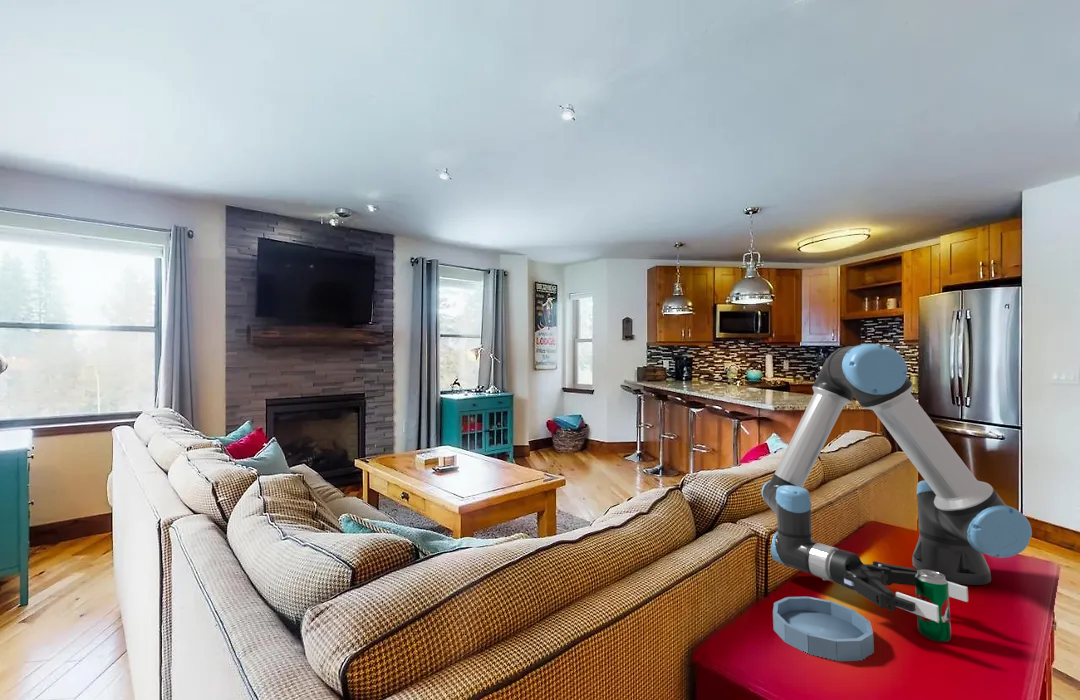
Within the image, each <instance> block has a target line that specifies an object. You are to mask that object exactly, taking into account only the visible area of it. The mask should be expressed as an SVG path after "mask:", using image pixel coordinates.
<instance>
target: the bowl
mask: <svg viewBox="0 0 1080 700" xmlns="http://www.w3.org/2000/svg"><path fill="white" fill-rule="evenodd" d="M772 624H773V631H774V632H775V633H776V634H777V636H779V638H781V640H782V641H783V643H786V644H787V645H788V646H791V647H793V648H795V649H797V650H799V651H801V652H803V651H804V652H803V653H805V652H806V653H805V654H807V653H808V654H807V655H809V654H810V655H809V656H813V655H814V656H813V657H817V656H819V657H818V658H821V657H823V659H825V658H827V659H826V660H830V659H831V660H830V661H834V660H835V661H834V662H860V661H864V660H865V659H866V657H867V656H868V657H870V656H871V655H873V654H874V653H875V644H874V642H875V641H874V632H873V631H874V630H873V628H872V624H871V621H870V620H869V619H867V618H866V617H864V615H862V614H860V613H859V612H857V611H856V610H855V609H853V608H850V607H848V606H845V605H842V604H839V603H837V602H835V601H832V600H828V599H823V598H818V597H817V598H816V597H812V596H787V597H784V598H782V599H779V600H777V601H775V602H773V609H772ZM872 653H873V654H872ZM869 655H870V656H869ZM868 657H867V658H868ZM863 659H864V660H863ZM859 660H860V661H859Z"/></svg>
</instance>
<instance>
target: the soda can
mask: <svg viewBox="0 0 1080 700" xmlns="http://www.w3.org/2000/svg"><path fill="white" fill-rule="evenodd" d="M948 582H949V581H948ZM948 582H947V580H946V579H945V576H944V575H943V574H941V573H939V572H936V571H931V570H918V571H917V574H916V575H915V586H914V587H915V598H917V599H920V600H923V601H926V602H929V603H932V604H935V605H938V608H939V621H938V622H936V621H933V620H931V619H928V618H925V617H922V616H920V615H917V614H916V617H917V619H916V621H917V623H916V624H917V630H918V632H919V633H920V635H922V636H923V635H924V636H925V637H924V636H923V637H924V638H926V637H927V638H926V639H928V638H929V639H928V640H931V641H934V642H939V643H946V642H949V641H950V640H951V639H952V626H951V611H950V610H951V609H950V597H949V588H948Z"/></svg>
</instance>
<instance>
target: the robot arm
mask: <svg viewBox="0 0 1080 700" xmlns="http://www.w3.org/2000/svg"><path fill="white" fill-rule="evenodd" d="M907 372H908V366H907V363H906V360H905V358H903V356H902V355H901V354H900V353H899V352H897V351H896V350H895V349H893V348H891V347H889V346H885V345H882V344H877V343H862V344H859V345H849V346H844V347H840V348H838V349H836V350H834V351H833V352H832V353H831V354H829V356H828V357H827V358H826V359H825V361H824V363H823V365H822V367H821V369H820V370H819V373H818V375H817V377H816V379H815V380H814V383H813V385H812V387H811V388H812V390H813V395H812V397H811V398H810V400H809V402H808V405H807V407H806V409H805V411H804V413H803V415H802V417H801V419H800V421H799V423H798V425H797V427H796V429H795V431H794V433H793V435H792V438H791V440H790V442H789V443H788V446H787V447H786V449H785V452H784V454H783V456H782V458H781V459H780V461H779V463H778V466H777V467H776V469H775V472H774V474H773V476H772V478H771V479H770V480H768V481H766V482H765V483H764V484H763V486H762V488H761V496H762V499H763V500H764V503H765V505H767V507H769V508H770V509H771V510H772V512H774V514H775V515H776V519H777V523H776V524H777V530H776V531H777V532H776V533H775V534H774V536H773V539H772V544H771V555H772V558H773V559H772V558H771V559H772V560H773V561H774V562H778V563H780V564H782V565H785V566H786V567H789V568H792V569H795V570H798V571H801V572H804V573H807V574H810V575H811V576H815V577H818V578H821V579H822V581H829V582H833V583H835V584H837V585H839V586H843V587H845V588H847V589H850V590H852V591H854V592H855V593H857V594H859V595H860V596H862V597H863V598H865V599H866V600H868V601H869V602H871V603H873V604H875V605H876V606H878V607H879V608H882V609H886V608H887V610H888V611H891V612H895V611H896V608H899V609H901V610H903V611H907V612H909V613H911V614H915V615H916V616H917V615H920V616H922V617H925V618H928V619H931V620H933V621H936V622H938V621H939V608H938V605H935V604H932V603H929V602H926V601H923V600H920V599H917V598H916V597H914V596H910V595H907V594H904V593H902V592H899V591H896V592H895V593H894V592H893V591H892V590H890V589H889V588H888V587H886V586H892V584H894V585H895V584H896V585H905V586H914V587H916V586H915V575H916V574H917V571H918V570H931V571H936V572H939V573H941V574H943V575H944V576H945V579H946V580H947V582H948V588H949V598H953V599H956V600H959V601H962V602H966V603H968V602H969V589H968V586H965V585H971V586H983V585H988V584H989V583H991V581H992V576H991V569H990V567H989V564H988V563H987V561H986V560H987V559H986V558H985V555H987V556H989V557H993V558H1002V559H1003V558H1005V559H1006V558H1011V557H1014V556H1017V555H1019V554H1020V553H1022V552H1023V551H1025V549H1026V548H1027V547H1028V546H1029V544H1030V540H1031V538H1032V534H1033V531H1032V526H1031V523H1030V521H1029V519H1028V518H1027V517H1026V516H1025V514H1023V513H1022V512H1021V511H1020V510H1018V509H1016V508H1015V507H1013V506H1009V505H1007V504H1006V503H1005V502H1004V501H1003V499H1002V497H1001V496H1000V495H999V494H998V492H997V491H996V489H994V488H993V486H992V485H991V484H990V483H988V482H986V481H980V480H977V478H976V477H975V476H974V474H973V473H972V472H971V470H970V469H969V468H968V466H967V465H966V464H965V463H964V460H962V458H961V457H960V456H959V455H958V453H957V452H956V450H955V449H954V447H952V445H951V444H950V443H949V442H948V440H947V439H946V438H945V436H944V435H943V433H942V432H941V431H940V430H939V428H938V427H937V426H936V424H935V423H934V422H933V421H932V419H931V418H930V417H929V415H928V414H927V412H926V411H924V409H923V407H922V406H921V405H920V403H919V402H918V401H917V399H915V397H914V396H913V394H912V390H913V386H914V385H913V382H912V380H910V378H909V377H908V374H907ZM854 398H855V400H857V402H858V404H859V405H860V407H862V408H863V409H867V410H870V411H873V413H874V414H875V415H876V416H877V418H878V419H879V421H880V422H881V423H882V424H883V426H884V427H885V429H886V430H887V431H888V432H889V434H890V435H891V437H892V438H893V439H894V441H896V443H897V444H898V446H899V447H900V449H901V450H902V451H903V453H904V454H905V455H906V456H907V458H908V459H909V461H910V462H911V464H912V465H913V466H914V467H915V469H916V470H917V471H918V473H919V474H920V476H921V477H922V478H923V480H921V481H919V482H918V483H917V486H916V487H917V488H916V498H917V501H916V502H917V513H918V514H917V515H918V517H917V518H918V528H919V529H918V530H919V533H918V534H919V536H918V540H917V543H916V546H915V549H914V551H913V553H912V560H911V561H912V566H914V567H915V568H916V569H915V568H914V567H905V566H901V565H894V564H888V563H883V562H879V561H876V560H873V561H872V564H871V563H870V564H869V563H867V564H864V563H863V562H862V560H861V558H860V556H859V555H858V554H856V553H854V552H850V551H849V550H844V549H839V548H837V547H835V546H831V545H829V544H824V543H820V542H817V541H814V540H813V534H812V533H813V532H812V501H811V495H810V492H809V490H807V489H806V488H805V487H804V485H805V483H806V481H807V480H808V478H809V476H810V474H811V472H812V469H813V468H814V466H815V464H816V462H817V460H818V457H819V456H820V454H821V451H822V450H823V449H824V446H825V443H826V442H827V440H828V439H829V436H830V434H831V432H832V430H833V428H834V426H835V424H836V422H837V420H838V418H839V416H840V414H841V413H842V411H843V408H844V406H846V405H848V404H851V403H852V401H853V399H854ZM781 534H782V535H781ZM984 554H985V555H984ZM961 584H962V585H961Z"/></svg>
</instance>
